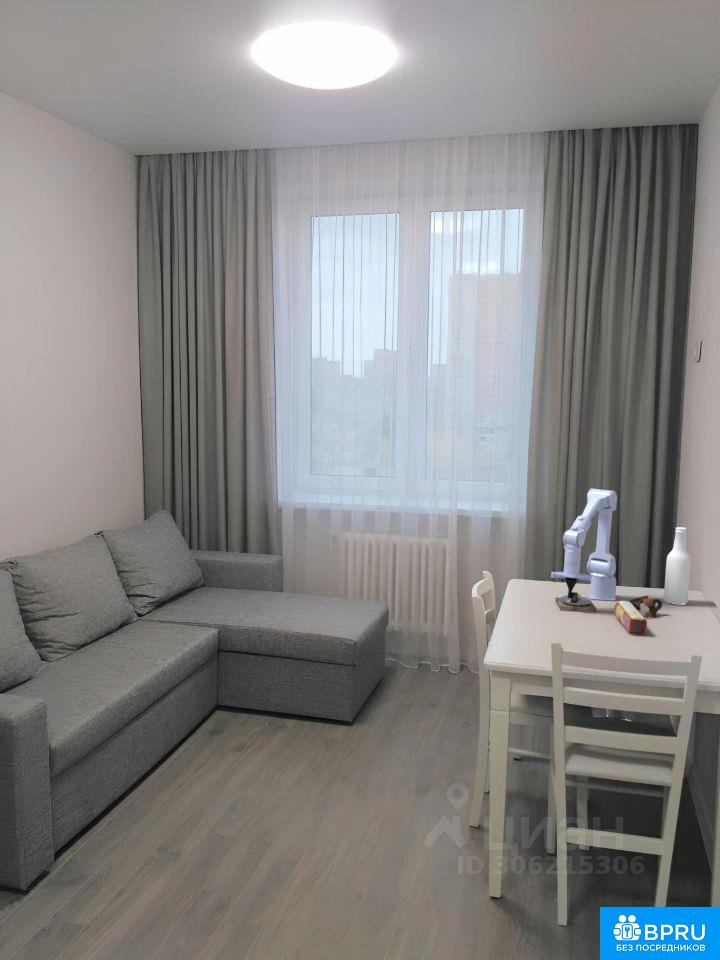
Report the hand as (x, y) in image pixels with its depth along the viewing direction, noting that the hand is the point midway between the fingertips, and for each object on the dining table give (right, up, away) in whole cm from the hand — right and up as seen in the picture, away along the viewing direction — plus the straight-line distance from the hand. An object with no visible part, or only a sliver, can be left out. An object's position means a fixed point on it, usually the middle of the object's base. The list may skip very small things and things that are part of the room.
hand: (569, 597), depth 289 cm
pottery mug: (+27, -6, -3) cm, 28 cm away
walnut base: (+3, -4, +4) cm, 7 cm away
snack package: (+16, -7, -19) cm, 26 cm away
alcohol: (+46, -4, +15) cm, 48 cm away
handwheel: (+3, -3, +4) cm, 6 cm away
